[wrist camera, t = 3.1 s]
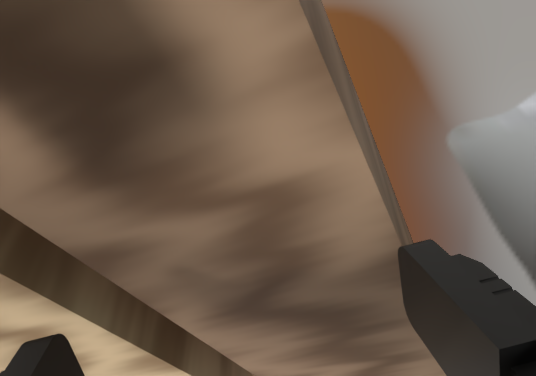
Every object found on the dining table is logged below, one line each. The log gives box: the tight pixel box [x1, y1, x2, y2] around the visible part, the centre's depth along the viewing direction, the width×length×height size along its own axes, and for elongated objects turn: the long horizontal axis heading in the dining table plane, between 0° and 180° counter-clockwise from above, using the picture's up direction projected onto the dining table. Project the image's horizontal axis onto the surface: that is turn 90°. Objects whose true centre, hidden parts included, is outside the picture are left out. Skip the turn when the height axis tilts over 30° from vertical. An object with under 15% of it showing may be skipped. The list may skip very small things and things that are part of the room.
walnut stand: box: [0, 0, 447, 376], centre depth 19 cm, size 10×10×32 cm
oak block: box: [0, 208, 255, 376], centre depth 26 cm, size 11×12×26 cm
